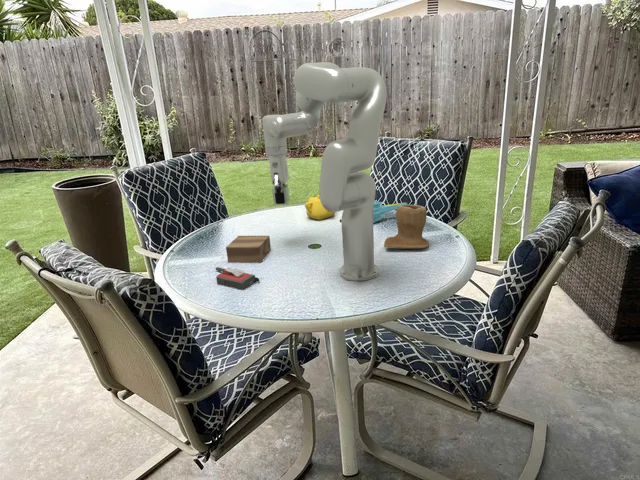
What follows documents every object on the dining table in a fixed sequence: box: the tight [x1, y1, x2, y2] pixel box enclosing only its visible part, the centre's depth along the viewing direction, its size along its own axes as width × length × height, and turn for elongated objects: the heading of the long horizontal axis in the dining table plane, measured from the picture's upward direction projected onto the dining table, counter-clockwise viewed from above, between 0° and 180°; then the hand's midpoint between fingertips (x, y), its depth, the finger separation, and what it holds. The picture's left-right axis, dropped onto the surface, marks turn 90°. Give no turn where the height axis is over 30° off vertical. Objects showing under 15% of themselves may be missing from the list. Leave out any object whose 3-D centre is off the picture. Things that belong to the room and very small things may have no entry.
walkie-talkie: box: [215, 266, 260, 291], centre depth 140 cm, size 9×4×20 cm
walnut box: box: [225, 235, 272, 264], centre depth 158 cm, size 12×12×6 cm
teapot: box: [304, 194, 336, 221], centre depth 197 cm, size 14×13×10 cm
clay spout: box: [383, 204, 430, 250], centre depth 155 cm, size 15×12×15 cm
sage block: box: [271, 184, 290, 206], centre depth 160 cm, size 5×5×6 cm
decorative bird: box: [339, 200, 408, 224], centre depth 184 cm, size 14×30×9 cm, turn 126°
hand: (281, 200), depth 161 cm, fingers closed on sage block, 5 cm apart
